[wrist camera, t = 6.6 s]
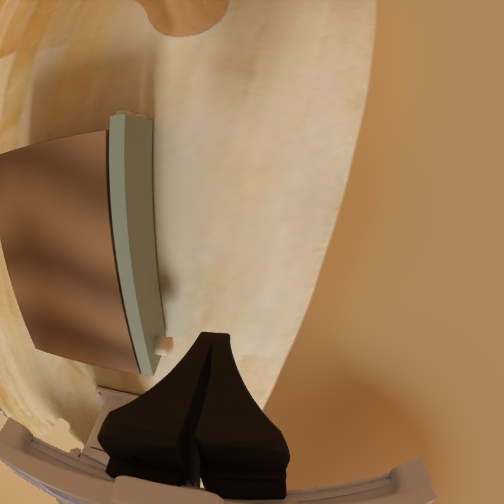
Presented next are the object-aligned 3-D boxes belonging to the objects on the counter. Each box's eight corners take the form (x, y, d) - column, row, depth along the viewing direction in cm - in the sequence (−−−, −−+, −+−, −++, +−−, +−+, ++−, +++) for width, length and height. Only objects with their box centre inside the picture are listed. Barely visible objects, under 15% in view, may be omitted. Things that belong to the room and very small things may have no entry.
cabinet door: (179, 342, 24) (167, 378, 19) (156, 339, 23) (141, 374, 19) (169, 113, 17) (145, 104, 12) (140, 115, 17) (110, 109, 12)
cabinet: (156, 338, 24) (140, 374, 19) (59, 321, 24) (36, 348, 19) (138, 132, 17) (105, 130, 13) (29, 150, 17) (-9, 157, 13)
